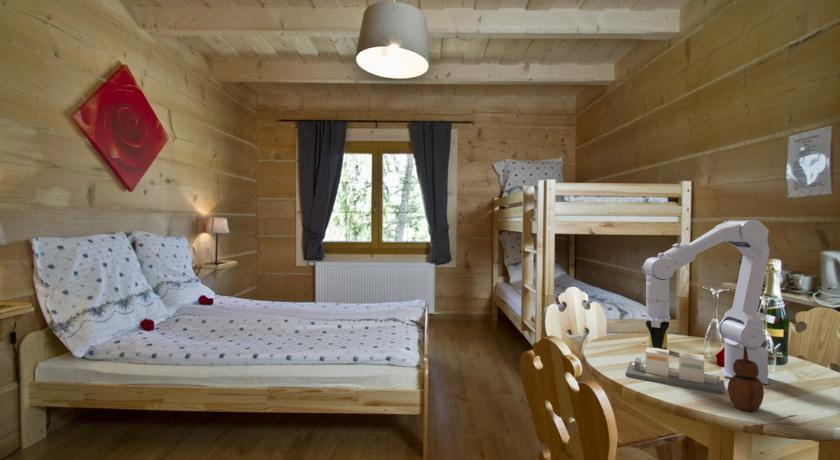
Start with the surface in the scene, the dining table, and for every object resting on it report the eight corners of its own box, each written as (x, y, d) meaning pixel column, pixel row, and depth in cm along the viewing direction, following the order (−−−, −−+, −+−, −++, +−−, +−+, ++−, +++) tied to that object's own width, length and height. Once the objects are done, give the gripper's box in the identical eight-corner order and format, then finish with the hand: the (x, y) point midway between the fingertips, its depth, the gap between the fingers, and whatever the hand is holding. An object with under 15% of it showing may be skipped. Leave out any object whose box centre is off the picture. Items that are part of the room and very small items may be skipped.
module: (669, 370, 115) (669, 350, 114) (668, 376, 110) (668, 355, 110) (647, 367, 118) (647, 347, 118) (645, 372, 113) (645, 351, 113)
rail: (719, 379, 110) (719, 354, 110) (722, 394, 101) (722, 366, 101) (630, 364, 123) (630, 341, 123) (625, 376, 114) (625, 351, 113)
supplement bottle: (668, 348, 138) (668, 320, 137) (666, 353, 133) (666, 323, 133) (650, 346, 141) (650, 318, 141) (647, 349, 137) (647, 321, 136)
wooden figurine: (751, 416, 90) (751, 350, 89) (723, 405, 95) (723, 343, 95) (768, 410, 92) (768, 346, 92) (740, 400, 98) (740, 339, 97)
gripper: (644, 294, 122) (643, 338, 122) (638, 302, 110) (638, 351, 110) (671, 296, 118) (671, 342, 118) (669, 305, 106) (668, 356, 106)
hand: (657, 347), depth 114 cm, fingers closed
